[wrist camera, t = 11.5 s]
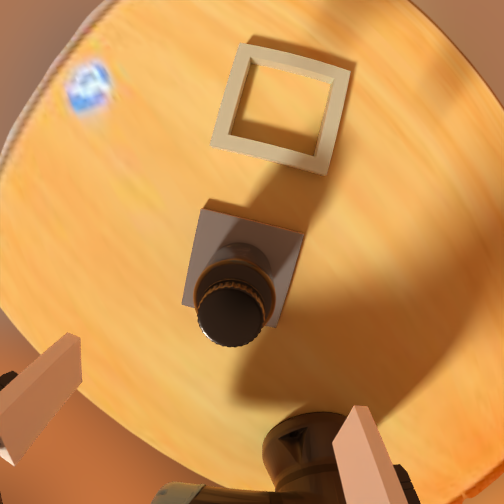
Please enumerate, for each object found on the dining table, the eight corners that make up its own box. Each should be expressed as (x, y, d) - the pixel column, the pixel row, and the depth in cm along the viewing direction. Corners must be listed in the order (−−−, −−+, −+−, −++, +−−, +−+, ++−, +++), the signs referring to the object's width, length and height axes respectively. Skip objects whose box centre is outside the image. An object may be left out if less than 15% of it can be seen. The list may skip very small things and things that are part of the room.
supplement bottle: (278, 293, 33) (288, 349, 21) (218, 308, 34) (200, 368, 22) (262, 232, 32) (264, 262, 20) (199, 249, 32) (168, 286, 21)
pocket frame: (346, 77, 29) (350, 71, 27) (322, 175, 31) (326, 175, 29) (240, 50, 28) (239, 42, 26) (212, 147, 31) (209, 145, 29)
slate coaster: (302, 233, 33) (304, 234, 32) (275, 324, 35) (276, 328, 34) (202, 207, 32) (201, 208, 31) (183, 301, 35) (181, 304, 34)
